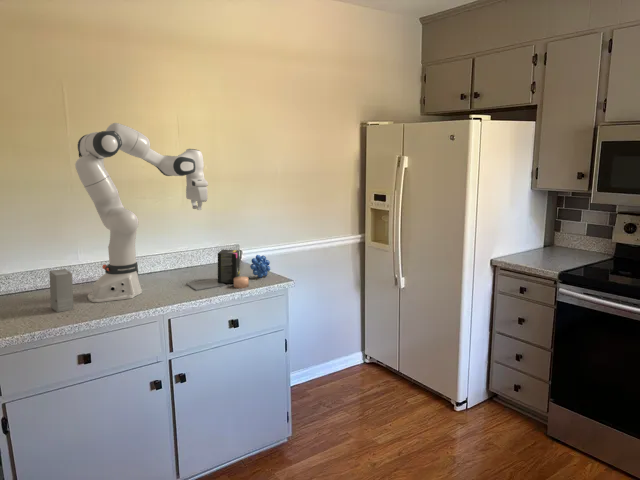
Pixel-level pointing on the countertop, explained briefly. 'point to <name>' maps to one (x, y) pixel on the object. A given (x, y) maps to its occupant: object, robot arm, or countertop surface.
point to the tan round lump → (241, 282)
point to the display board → (205, 284)
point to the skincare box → (61, 290)
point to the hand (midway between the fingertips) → (197, 209)
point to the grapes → (260, 266)
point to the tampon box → (228, 265)
